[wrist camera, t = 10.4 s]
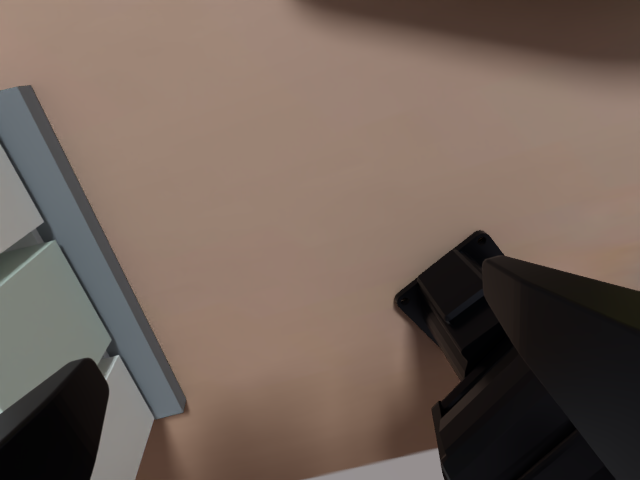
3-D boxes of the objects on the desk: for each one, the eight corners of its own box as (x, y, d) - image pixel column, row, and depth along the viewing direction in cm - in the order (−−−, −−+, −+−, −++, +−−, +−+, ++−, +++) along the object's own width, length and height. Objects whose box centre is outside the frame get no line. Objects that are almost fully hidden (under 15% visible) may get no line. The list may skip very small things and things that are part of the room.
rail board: (186, 399, 25) (156, 524, 18) (61, 430, 25) (-15, 568, 18) (30, 85, 17) (-128, 101, 10) (-158, 128, 16) (-448, 173, 10)
